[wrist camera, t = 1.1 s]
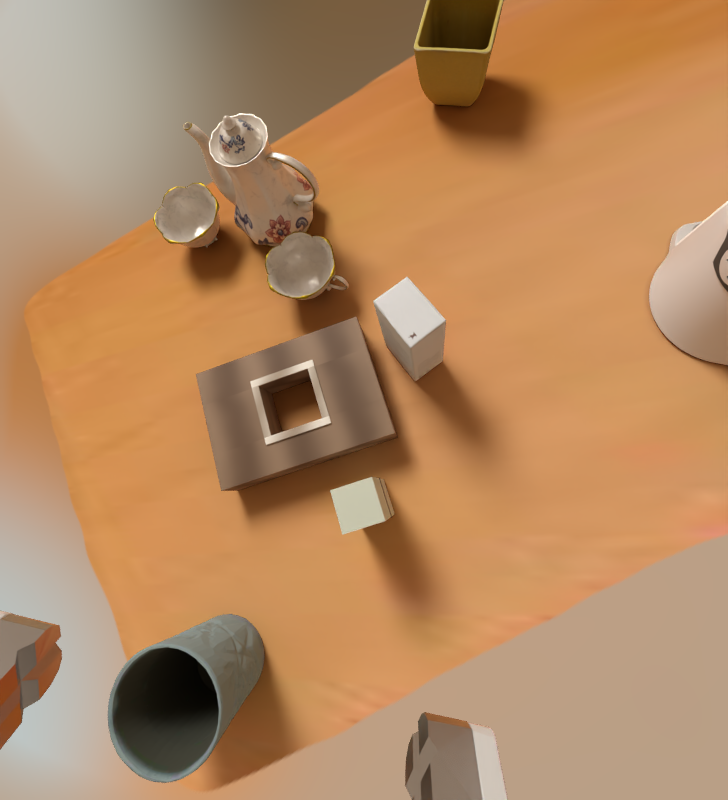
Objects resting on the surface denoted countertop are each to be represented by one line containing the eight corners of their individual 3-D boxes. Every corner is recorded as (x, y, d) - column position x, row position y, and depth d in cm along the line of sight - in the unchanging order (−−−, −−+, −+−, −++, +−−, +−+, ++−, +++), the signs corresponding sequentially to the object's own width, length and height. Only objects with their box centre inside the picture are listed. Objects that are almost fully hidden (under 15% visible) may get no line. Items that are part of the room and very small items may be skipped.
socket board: (361, 329, 51) (355, 315, 47) (397, 437, 48) (394, 432, 44) (212, 382, 53) (194, 373, 49) (237, 490, 50) (220, 490, 46)
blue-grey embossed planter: (182, 615, 48) (102, 656, 36) (265, 597, 47) (211, 633, 35) (193, 715, 45) (111, 793, 34) (281, 698, 44) (229, 773, 33)
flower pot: (415, 115, 57) (412, 48, 48) (429, 62, 58) (429, -13, 49) (480, 121, 55) (490, 52, 46) (494, 66, 56) (506, -11, 48)
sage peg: (383, 478, 47) (372, 476, 38) (395, 514, 46) (386, 521, 37) (349, 489, 48) (329, 490, 38) (360, 525, 47) (342, 535, 37)
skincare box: (444, 361, 49) (448, 321, 37) (414, 382, 49) (410, 350, 37) (412, 323, 51) (407, 274, 39) (384, 344, 51) (370, 301, 39)
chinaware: (167, 263, 60) (64, 195, 44) (213, 157, 60) (127, 51, 44) (342, 328, 54) (296, 277, 38) (391, 209, 54) (368, 108, 38)
